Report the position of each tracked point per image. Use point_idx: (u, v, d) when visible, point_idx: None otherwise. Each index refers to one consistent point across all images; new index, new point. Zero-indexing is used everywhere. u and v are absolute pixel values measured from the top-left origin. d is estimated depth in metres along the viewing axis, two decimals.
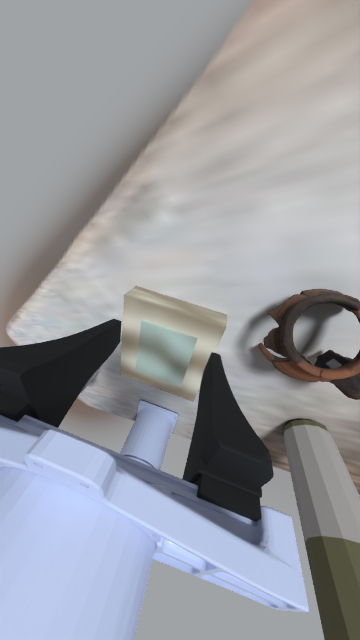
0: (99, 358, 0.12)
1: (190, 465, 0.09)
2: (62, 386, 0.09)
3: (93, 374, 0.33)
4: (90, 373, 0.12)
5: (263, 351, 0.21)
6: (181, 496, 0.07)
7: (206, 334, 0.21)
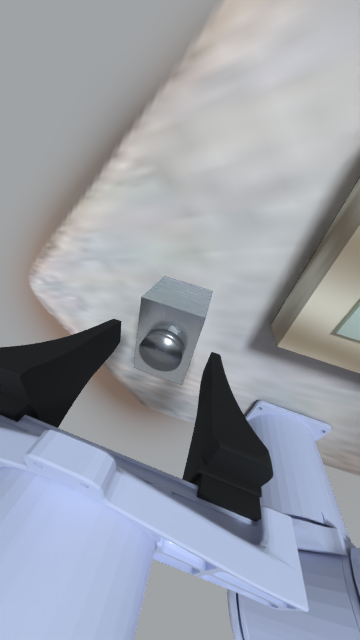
0: (99, 358, 0.12)
1: (190, 465, 0.09)
2: (62, 386, 0.09)
3: None
4: (89, 373, 0.12)
5: None
6: (181, 496, 0.07)
7: None
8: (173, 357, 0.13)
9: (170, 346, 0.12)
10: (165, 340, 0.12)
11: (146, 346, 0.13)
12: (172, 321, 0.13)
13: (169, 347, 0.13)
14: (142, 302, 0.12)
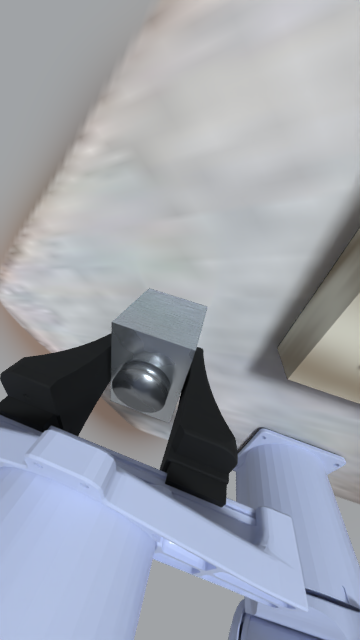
0: None
1: (165, 455, 0.09)
2: (84, 394, 0.09)
3: None
4: (107, 380, 0.12)
5: None
6: (149, 483, 0.07)
7: None
8: (155, 398, 0.10)
9: (150, 385, 0.10)
10: (143, 378, 0.09)
11: (120, 383, 0.10)
12: (153, 352, 0.10)
13: (149, 387, 0.10)
14: (113, 328, 0.10)
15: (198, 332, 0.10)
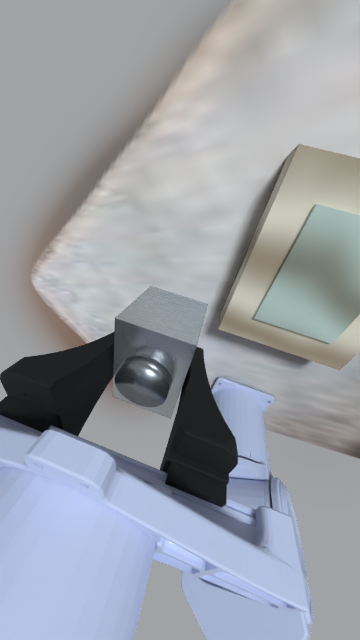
0: None
1: (165, 455, 0.09)
2: (84, 394, 0.09)
3: None
4: (107, 380, 0.12)
5: None
6: (150, 483, 0.07)
7: None
8: (157, 392, 0.10)
9: (152, 380, 0.10)
10: (145, 373, 0.10)
11: (123, 378, 0.10)
12: (155, 348, 0.10)
13: (151, 381, 0.10)
14: (116, 324, 0.10)
15: (199, 328, 0.11)
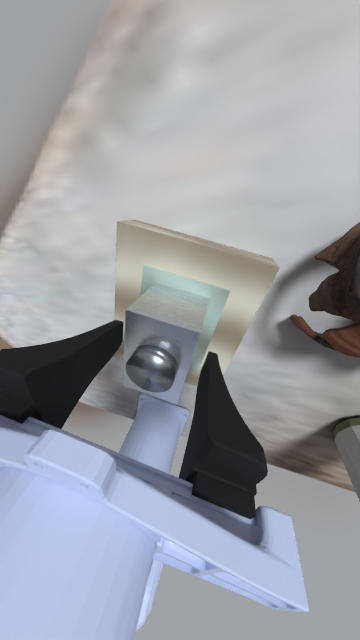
0: (102, 359, 0.12)
1: (186, 463, 0.09)
2: (66, 387, 0.09)
3: None
4: (92, 374, 0.12)
5: (300, 323, 0.15)
6: (176, 494, 0.07)
7: (244, 283, 0.13)
8: (164, 377, 0.11)
9: (160, 366, 0.11)
10: (154, 359, 0.11)
11: (133, 365, 0.11)
12: (162, 336, 0.11)
13: (159, 367, 0.11)
14: (127, 315, 0.11)
15: (202, 318, 0.11)
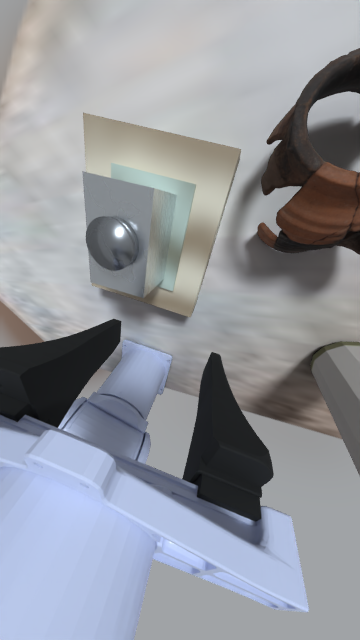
0: (99, 358, 0.12)
1: (190, 465, 0.09)
2: (62, 386, 0.10)
3: (159, 274, 0.16)
4: (89, 373, 0.12)
5: (263, 228, 0.15)
6: (181, 496, 0.07)
7: (209, 174, 0.14)
8: (123, 246, 0.11)
9: (117, 229, 0.11)
10: (111, 220, 0.11)
11: (93, 235, 0.11)
12: (120, 202, 0.11)
13: (116, 230, 0.11)
14: (84, 179, 0.11)
15: None
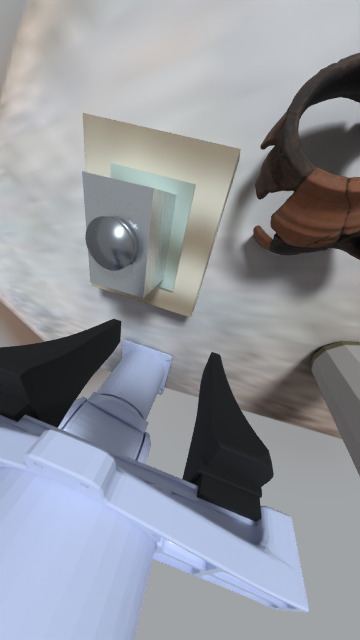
0: (99, 358, 0.12)
1: (190, 465, 0.09)
2: (62, 386, 0.09)
3: (159, 274, 0.16)
4: (89, 373, 0.12)
5: (258, 231, 0.16)
6: (181, 496, 0.07)
7: (208, 174, 0.14)
8: (123, 245, 0.11)
9: (117, 228, 0.11)
10: (110, 220, 0.11)
11: (92, 235, 0.12)
12: (120, 202, 0.11)
13: (116, 230, 0.11)
14: (84, 179, 0.11)
15: (161, 190, 0.12)
